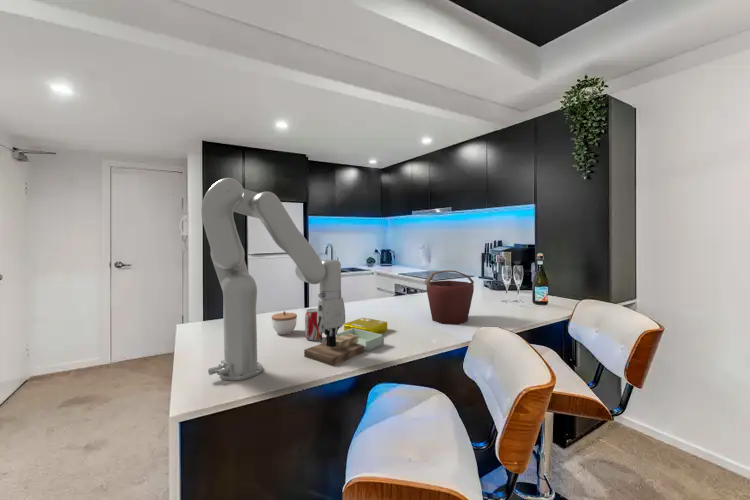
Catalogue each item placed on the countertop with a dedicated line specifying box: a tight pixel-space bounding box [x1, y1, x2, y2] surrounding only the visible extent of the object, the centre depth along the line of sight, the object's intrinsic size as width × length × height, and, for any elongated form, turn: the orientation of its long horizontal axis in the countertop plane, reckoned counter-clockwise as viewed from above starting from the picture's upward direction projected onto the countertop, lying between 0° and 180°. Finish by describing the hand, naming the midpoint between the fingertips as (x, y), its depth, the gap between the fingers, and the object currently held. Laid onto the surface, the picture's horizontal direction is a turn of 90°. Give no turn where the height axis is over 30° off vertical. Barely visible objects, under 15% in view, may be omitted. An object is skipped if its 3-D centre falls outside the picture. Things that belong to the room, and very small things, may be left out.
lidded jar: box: [271, 311, 298, 336], centre depth 147 cm, size 11×11×9 cm
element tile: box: [343, 317, 388, 335], centre depth 149 cm, size 15×15×5 cm
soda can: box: [304, 308, 323, 341], centre depth 139 cm, size 7×7×12 cm
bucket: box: [423, 269, 475, 326], centre depth 168 cm, size 24×22×25 cm
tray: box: [336, 328, 385, 353], centre depth 131 cm, size 10×16×4 cm, turn 52°
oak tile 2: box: [339, 334, 358, 345], centre depth 126 cm, size 5×5×2 cm
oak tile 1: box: [334, 337, 349, 349], centre depth 122 cm, size 5×5×2 cm
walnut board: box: [303, 341, 365, 367], centre depth 120 cm, size 16×14×2 cm
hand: (331, 346), depth 119 cm, fingers closed
